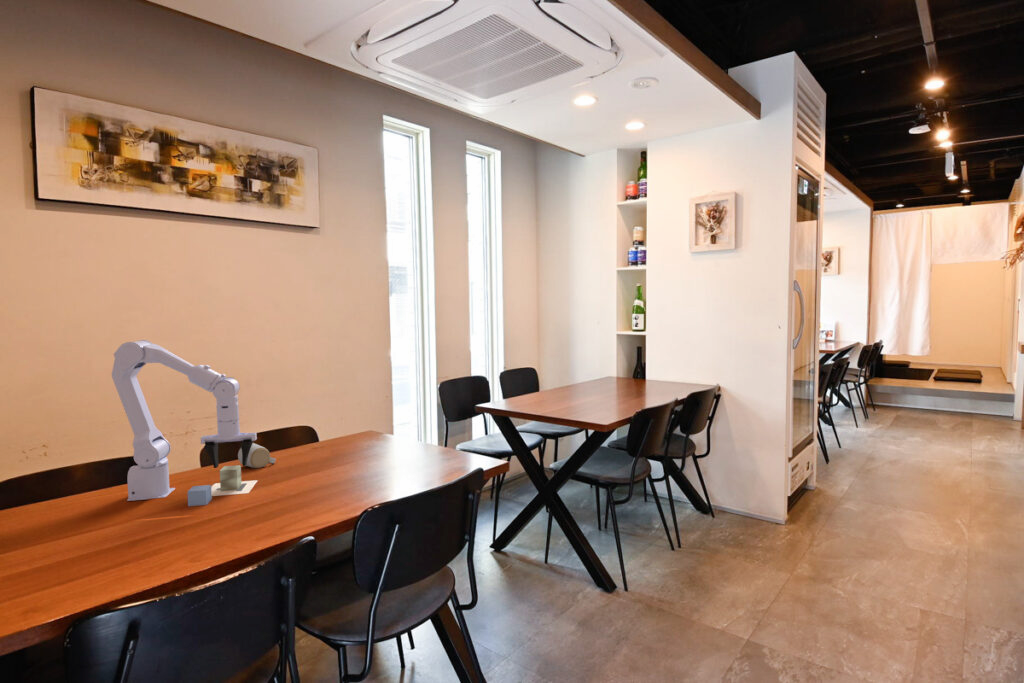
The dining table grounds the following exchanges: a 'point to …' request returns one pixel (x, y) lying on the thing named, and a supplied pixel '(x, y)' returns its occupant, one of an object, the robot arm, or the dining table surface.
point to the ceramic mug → (257, 456)
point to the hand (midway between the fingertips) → (230, 466)
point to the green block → (230, 478)
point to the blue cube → (199, 495)
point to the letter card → (243, 489)
